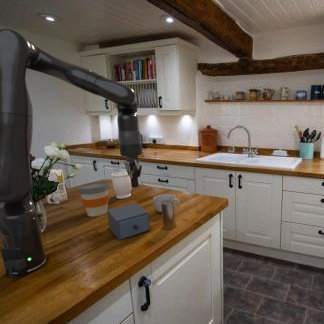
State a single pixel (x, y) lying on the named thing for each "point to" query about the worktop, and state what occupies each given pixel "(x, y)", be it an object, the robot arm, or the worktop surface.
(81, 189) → the reusable coffee cup
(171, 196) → the teacup
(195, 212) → the worktop surface
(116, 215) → the cabinet
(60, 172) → the juice carton
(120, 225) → the drawer
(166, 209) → the brushed steel cylinder
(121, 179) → the jar
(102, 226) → the worktop surface
